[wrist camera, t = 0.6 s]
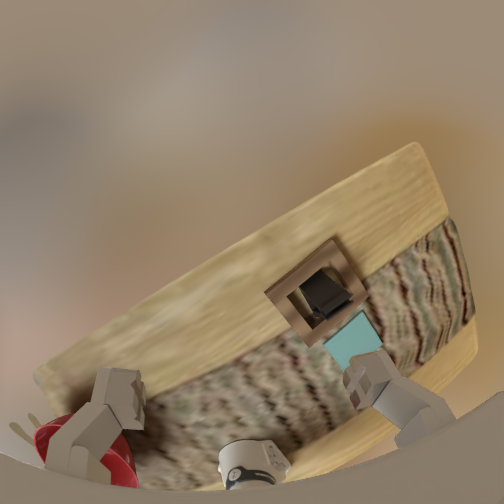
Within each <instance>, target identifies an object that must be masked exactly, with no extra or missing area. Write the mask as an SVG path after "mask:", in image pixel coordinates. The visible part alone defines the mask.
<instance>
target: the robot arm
mask: <svg viewBox="0 0 504 504" xmlns="http://www.w3.org/2000/svg"><path fill="white" fill-rule="evenodd" d="M349 364H350V365H349V366H348V367H347V368H346V369H345V371H344V373H343V383H344V386H345V388H346V390H348V391H349V392H351V395H350V399H351V401H352V403H353V406H354V408H355V410H356V409H361V408H365V407H369V406H372V405H373V406H372V407H373V408H375V409H376V410H377V411H378V412H380V413H381V414H382V415H383V416H385V417H386V418H387V419H388V420H390V421H391V422H392V423H393V424H395V425H396V426H397V427H398V428H400V429H401V431H400V432H399V433H398V434H397V435H396V436H395V439H394V440H395V442H396V444H397V446H398V449H397V450H395V451H392V452H390V453H387V454H385V455H382V456H380V457H377V458H374V459H372V460H369V461H366V462H363V463H360V464H357V465H354V466H351V467H348V468H345V469H341V470H338V471H334V472H331V473H327V474H323V475H319V476H315V477H311V478H306V479H302V480H297V481H292V482H287V483H282V482H283V481H284V480H285V478H286V474H285V473H287V472H288V471H289V470H290V468H291V463H290V462H289V461H288V460H287V458H286V457H285V456H284V455H283V453H282V452H281V451H280V450H279V448H278V447H277V446H276V445H275V443H274V442H273V441H272V440H263V441H255V440H241V441H236V442H233V443H231V444H229V445H227V446H225V447H224V448H223V449H222V450H221V451H220V453H219V461H220V464H219V466H218V471H219V472H221V474H222V478H223V483H224V485H225V486H226V487H225V488H226V490H218V491H165V490H150V489H140V488H131V487H123V486H116V485H111V472H110V471H109V470H108V469H107V468H106V467H105V466H104V465H103V464H102V463H101V462H100V460H101V458H102V457H103V456H104V454H105V453H106V452H107V450H108V449H109V448H110V446H111V445H112V444H113V442H114V441H115V440H116V438H117V437H118V436H119V434H120V433H121V432H122V430H123V429H135V430H144V419H145V415H144V412H143V410H142V409H143V408H144V406H145V405H146V391H145V386H144V383H143V382H142V381H141V374H140V371H139V370H129V369H117V368H107V367H100V368H99V370H98V372H97V376H96V380H95V384H94V389H93V393H92V398H91V402H90V403H89V402H87V403H86V404H85V405H84V406H83V407H82V408H81V409H80V410H78V411H77V412H76V413H75V414H74V415H73V416H72V417H71V418H70V419H69V420H68V421H67V422H66V423H65V424H64V425H63V426H62V427H61V428H60V429H59V430H58V431H57V432H56V433H55V434H54V435H53V436H52V437H51V438H50V440H49V445H48V450H47V456H46V461H45V467H44V468H41V467H38V466H35V465H32V464H29V463H27V462H24V461H21V460H19V459H16V458H14V457H11V456H9V455H7V454H4V453H2V452H0V504H504V391H501V392H498V393H496V394H495V395H493V396H492V397H491V398H489V399H488V400H486V401H485V402H484V403H482V404H481V405H479V406H478V407H476V408H475V409H473V410H472V411H470V412H468V413H467V414H465V415H463V416H462V417H460V418H458V419H457V420H456V418H455V416H454V415H453V413H452V411H451V410H450V408H449V407H448V405H447V403H446V402H445V400H444V399H443V398H441V397H440V396H438V395H436V394H434V393H433V392H431V391H429V390H427V389H426V388H424V387H422V386H421V385H419V384H417V383H415V382H414V381H412V380H410V379H409V378H407V377H405V376H404V377H402V376H401V374H400V373H399V371H398V369H397V368H396V366H395V365H394V363H393V361H392V360H391V358H390V357H389V355H388V354H387V352H386V351H385V350H380V351H375V352H369V353H364V354H360V355H355V356H352V357H351V358H350V360H349Z"/></svg>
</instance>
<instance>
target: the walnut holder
mask: <svg viewBox="0 0 504 504" xmlns="http://www.w3.org/2000/svg"><path fill="white" fill-rule="evenodd" d="M327 262H328V263H329V264H330V266H331V267H332V268H333V270H334V271H335V273H336V274H337V276H338V277H339V279H340V280H341V282H342V283H343V285H344V286H345V288H346V289H347V290H348V292H349V293H350V295H351V297H350V298H349V300H350V301H351V300H354V303H353V304H351V305H350V306H349V307H347V308H346V309H344V310H343V311H342V312H340V313H339V314H337V315H336V316H335V317H333V318H332V319H330V320H329V321H327V320H326V319H325V318H322V317H320V318H318V319H317V320H316V321H315V322H314V323H312V324H311V325H310V326H309V325H308V324H307V323H306V321H305V320H304V319H303V317H302V316H301V315H300V314H299V312H298V311H297V310H296V308H295V307H294V306H293V305H292V303H291V302H290V301H289V300H288V298H287V297H286V296H287V295H289V294H290V293H291V292H292V291H294V290H295V289H296V288H297V287H298V286H300V285H301V284H302V283H303V282H305V281H306V280H307V279H308V278H309V277H311V276H312V275H313V274H314V273H315V272H317V271H318V270H319V269H320V268H321V267H322V266H324V265H325V264H326V263H327ZM264 293H265V294H266V296H267V297H268V298H269V299H270V300H271V302H272V303H273V304H274V305H275V307H276V308H277V309H278V310H279V312H280V313H281V314H282V315H283V317H284V318H285V319H286V320H287V321H288V323H289V324H290V325H291V326H292V328H293V329H294V330H295V331H296V333H297V334H298V335H299V336H300V337H301V339H302V340H303V341H304V342H305V344H306V345H307V346H308V347H311V346H312V345H313V344H314V343H316V342H317V341H318V340H319V339H320V338H322V337H323V336H324V335H325V334H327V333H328V332H329V331H330V330H331V329H332V328H334V327H335V326H336V325H337V324H338V323H339V322H341V321H342V320H343V319H344V318H345V317H346V316H347V315H349V314H350V313H351V312H352V311H353V310H354V309H355V308H356V307H358V306H359V305H360V304H361V303H362V302H363V301H364V300H365V299H366V298H367V297H368V296H369V294H368V293H367V291H366V290H365V288H364V286H363V285H362V283H361V282H360V280H359V279H358V277H357V275H356V274H355V272H354V271H353V269H352V268H351V266H350V265H349V263H348V262H347V260H346V259H345V257H344V256H343V254H342V253H341V251H340V250H339V248H338V247H337V245H336V244H335V242H334V241H333V240H330V239H328V240H327V241H326V242H325V243H323V244H322V245H321V246H320V247H319V248H317V249H316V250H315V251H314V252H313V253H311V254H310V255H309V256H308V257H307V258H305V259H304V260H303V261H302V262H301V263H299V264H298V265H297V266H296V267H294V268H293V269H292V270H291V271H290V272H288V273H287V274H286V275H285V276H283V277H282V278H281V279H280V280H278V281H277V282H276V283H275V284H273V285H272V286H271V287H270V288H268V289H267V290H266V291H265V292H264Z"/></svg>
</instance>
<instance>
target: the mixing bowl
mask: <svg viewBox="0 0 504 504" xmlns="http://www.w3.org/2000/svg"><path fill="white" fill-rule="evenodd" d="M74 414H75V413H74ZM74 414H69V415H65V416H62V417H59V418H57V419H55V420H53V421H51V422H49V423H47V424H46V425H43V426H41V427H39V428H38V429H37V430H36V432H35V434H34V445H35V448H36V450H37V453H38V454H39V456H40V458H41V459H42V461H43V462H44V463H45V461H46V456H47V450H48V445H49V440H50V438H51V437H52V436H53V435H54V434H55V433H56V432H57V431H58V430H59V429H60V428H61V427H62V426H63V425H64V424H65V423H66V422H67V421H68V420H69V419H70V418H71V417H72V416H73V415H74ZM100 462H101V463H102V464H103V465H104V466H105V467H106V468H107V469H108V470H109V471H110V472H111V485H116V486H123V487H131V488H138V487H139V483H138V479H137V475H136V468H135V463H134V459H133V456H132V453H131V450H130V448H129V445H128V443H127V441H126V439H125V438H124V436H123V435H122V434H121V433H120V434H119V436H118V437H117V438H116V440H115V441H114V442H113V444H112V445H111V446H110V448H109V449H108V450H107V452H106V453H105V454H104V456H103V457H102V458H101V460H100Z"/></svg>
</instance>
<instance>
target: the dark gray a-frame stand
mask: <svg viewBox="0 0 504 504" xmlns="http://www.w3.org/2000/svg"><path fill="white" fill-rule="evenodd" d="M298 287H299V289H300V290H301V292H302V294H303V296H304V297H305V299H306V301H307V303H308V304H309V306H310V308H311V310H312V311H313V313H314V315H315V316H316V317H322V318H325V319H326V320H327V321H329V320H330V319H332V318H333V317H335V316H336V315H337V314H339V313H340V312H342V311H343V310H344V309H346V308H347V307H349V306H350V305H351V304H353V303H354V300H351V301H350V300H349V298H350V297H351V295H350V293H349V292H348V291H346V290H344V289H342V288H341V287H340V286H339V285H338V284H336V283H335V282H334V281H333V280H332V279H331V278H329V277H328V276H327V275H326V274H325V273H324V272H322V271H321V270H320V269H319V270H318V271H317V272H315V273H314V274H313V275H312V276H311V277H309V278H308V279H307V280H306V281H305V282H303V283H302V284H301V285H300V286H298Z"/></svg>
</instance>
